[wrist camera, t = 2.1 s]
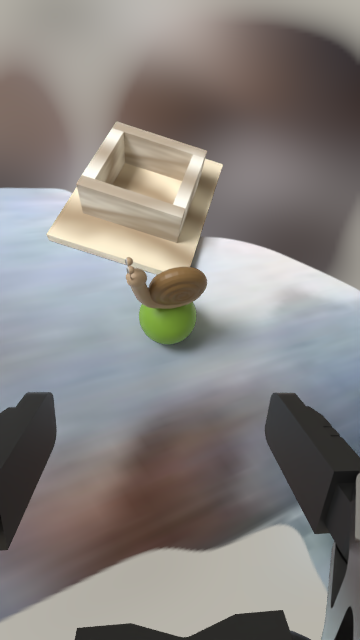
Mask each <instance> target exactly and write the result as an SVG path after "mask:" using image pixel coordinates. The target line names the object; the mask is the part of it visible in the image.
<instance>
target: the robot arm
mask: <svg viewBox="0 0 360 640" xmlns="http://www.w3.org/2000/svg"><path fill="white" fill-rule="evenodd" d="M265 435H266V440H267V443H268V445H269V447H270V449H271V451H272V453H273V455H274V457H275V459H276V461H277V463H278V464H279V466H280V468H281V470H282V472H283V474H284V476H285V478H286V480H287V482H288V484H289V486H290V487H291V489H292V491H293V493H294V495H295V497H296V499H297V501H298V503H299V505H300V507H301V509H302V511H303V512H304V514H305V516H306V518H307V520H308V522H309V524H310V526H311V528H312V530H313V532H314V534H322V533H330V534H331V536H332V537H333V539H334V543H333V546H332V553H331V564H330V575H329V586H328V597H327V608H326V617H325V624H324V629H323V633H322V637H321V640H360V457H359V456H358V455H357V454H356V453H355V452H354V451H353V449H352V448H351V447H350V446H349V445H348V444H347V443H346V442H345V440H344V439H343V438H342V437H340V435H339V434H338V432H337V431H336V430H335V429H334V428H332V426H331V425H330V423H329V422H328V421H327V420H326V419H325V418H324V417H323V415H321V414H320V413H318V412H317V411H315V410H314V409H312V408H311V407H309V406H305V404H304V403H303V402H302V401H301V400H300V398H299V397H298V396H297V395H296V394H295V393H273V394H272V396H271V399H270V404H269V410H268V415H267V420H266V425H265ZM55 440H56V419H55V409H54V400H53V395H52V393H51V392H28V393H26V394H25V395H24V397H23V398H22V399H21V401H20V402H19V403H18V405H17V406H16V407H11V408H7V409H6V410H4V411H3V412H1V413H0V550H8V548H9V546H10V544H11V542H12V539H13V537H14V535H15V533H16V530H17V528H18V526H19V524H20V521H21V519H22V517H23V515H24V512H25V510H26V508H27V506H28V503H29V501H30V499H31V497H32V494H33V492H34V490H35V488H36V485H37V483H38V481H39V479H40V476H41V474H42V472H43V470H44V468H45V465H46V463H47V461H48V459H49V456H50V454H51V452H52V450H53V447H54V444H55ZM75 640H311V639H309V638H307V637H305V636H303V635H300V634H298V633H296V632H293V631H290V630H289V627H288V624H287V621H286V618H285V615H284V612H283V610H278V611H267V612H257V613H244V614H235V615H233V616H231V617H229V618H227V619H225V620H223V621H220V622H218V623H216V624H214V625H212V626H211V627H208V628H206V629H204V630H202V631H200V632H198V633H196V634H194V635H192V636H189V637H184V638H183V637H178V636H174V635H171V634H167V633H164V632H159V631H156V630H152V629H149V628H145V627H142V626H138V625H135V624H131V623H130V624H119V625H106V626H95V627H84V628H77V631H76V636H75Z"/></svg>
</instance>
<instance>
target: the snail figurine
mask: <svg viewBox="0 0 360 640" xmlns="http://www.w3.org/2000/svg"><path fill="white" fill-rule="evenodd" d="M125 263H126V265H128V267H127V275H126V280H127V283H128V284H129V285H130V286H131V288H132V291H133V293H134V294H135V296H136V298H137V299H138V300H139V302H141V303H142V305H141V307H140V312H139V320H140V324H141V327H142V329H143V331H144V332H145V334H146V335H147V336H148V337H149V338H150V339H152V340H153V341H155V342H157V343H161V344H175V343H178V342H180V341H182V340H184V339H185V338H186V337H188V336H189V334H190V333H191V332H192V330H193V328H194V326H195V323H196V309H195V306H194V304H193V301H195V300H196V299H197V298H199V297H200V295H201V294H202V293H203V292H204V290H205V289H206V286H207V279H206V276H205V275H204V273H203V272H202V271H200V270H198V269H196V268H193V267H176V268H171V269H168V270H166V271H164V272H161V273H160V274H158V275H157V276H156V277H154V278H153V280H152V281H151V283H150V285H149V288H148V287H147V285H146V280H147V276H146V273H145V272H144V271H143V270H141V269H138V268H134V267H133V266H130V265H132V264H133V259H132V258H130V257H127V258H126V259H125Z"/></svg>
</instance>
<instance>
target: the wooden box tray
mask: <svg viewBox="0 0 360 640" xmlns="http://www.w3.org/2000/svg"><path fill="white" fill-rule="evenodd" d="M206 153H207V151H206V150H203V149H200V148H196V147H193V146H190V145H187V144H184V143H181V142H178V141H175V140H172V139H169V138H166V137H163V136H160V135H157V134H154V133H150V132H147V131H144V130H141V129H138V128H135V127H132V126H129V125H126V124H123V123H120V122H116V123H115V125H114V126H113V128H112V130H111V131H110V132H109V134H108V136H107V137H106V139H105V140H104V142H103V143H102V145H101V146H100V148H99V149H98V151H97V153H96V154H95V156H94V157H93V159H92V160H91V162H90V163H89V165H88V166H87V168H86V169H85V171H84V173H83V174H82V176H81V177H80V179H79V181H78V182H77V184H76V185H77V187H76V189H75V191H74V192H73V194H72V195H71V197H70V198H69V200H68V201H67V203H66V205H65V206H64V208H63V209H62V211H61V212H60V214H59V216H58V217H57V219H56V220H55V222H54V223H53V225H52V226H51V228H50V230H49V231H48V233H47V237H48V239H49V240H50V241H53V242H56V243H59V244H62V245H65V246H69V247H72V248H75V249H78V250H81V251H84V252H87V253H91V254H94V255H97V256H100V257H103V258H106V259H109V260H113V261H116V262H119V263H122V264H125V265H126V263H125V259H126V258H127V257H130V258H132V259H133V264H132V265H130V266H133V267H134V268H138V269H141V270H144V271H147V272H150V273H153V274H156V275H158V274H160V273H161V272H164V271H166V270H168V269H171V268H176V267H190V266H191V263H192V260H193V257H194V253H195V250H196V247H197V244H198V241H199V238H200V235H201V232H202V229H203V225H204V222H205V219H206V216H207V213H208V210H209V207H210V203H211V201H212V197H213V194H214V191H215V188H216V185H217V182H218V179H219V176H220V172H221V169H222V166H223V165H222V164H220V163H217V162H214V161H211V160H207V159H205V157H206Z"/></svg>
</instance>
